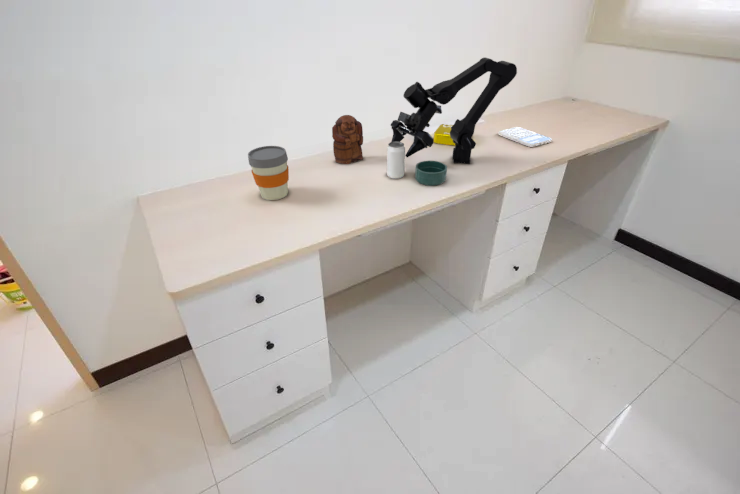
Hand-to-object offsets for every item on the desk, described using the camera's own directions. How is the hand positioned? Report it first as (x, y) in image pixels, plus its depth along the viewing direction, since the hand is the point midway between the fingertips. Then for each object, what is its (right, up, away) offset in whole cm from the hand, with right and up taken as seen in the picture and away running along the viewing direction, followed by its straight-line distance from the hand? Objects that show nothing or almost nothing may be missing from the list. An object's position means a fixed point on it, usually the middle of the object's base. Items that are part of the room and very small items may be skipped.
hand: (398, 152), depth 135 cm
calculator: (+60, +15, +34) cm, 70 cm away
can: (-1, -7, +5) cm, 9 cm away
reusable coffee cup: (-43, -16, -6) cm, 47 cm away
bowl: (+12, -10, +1) cm, 15 cm away
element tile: (+27, +15, +34) cm, 46 cm away
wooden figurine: (-19, +1, +17) cm, 25 cm away
